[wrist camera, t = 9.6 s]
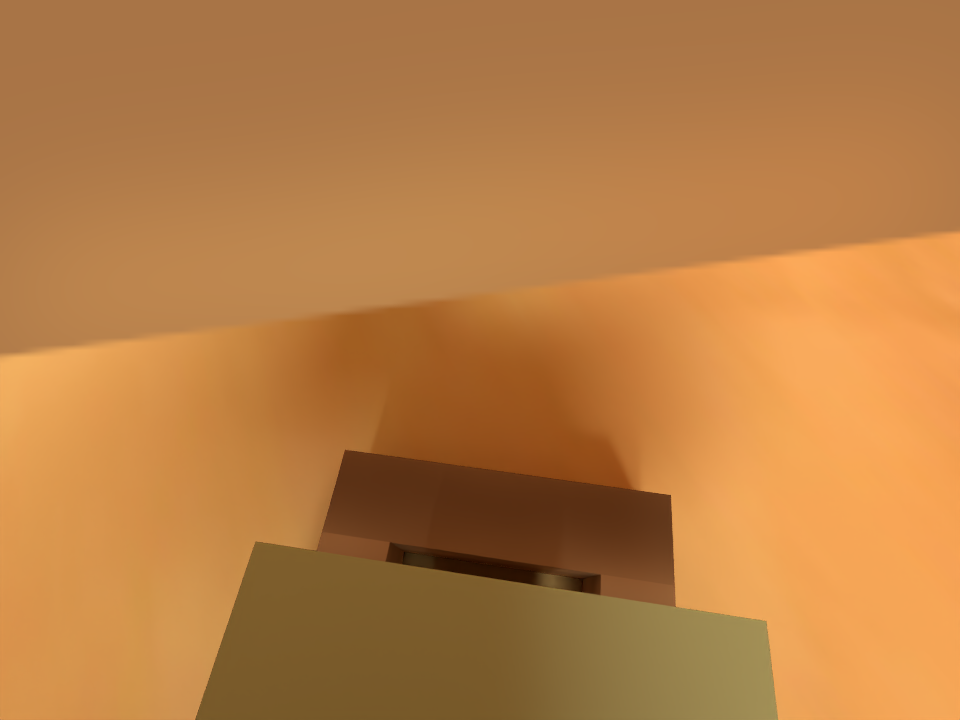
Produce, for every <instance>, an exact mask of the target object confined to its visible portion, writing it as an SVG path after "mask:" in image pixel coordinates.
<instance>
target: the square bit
mask: <svg viewBox="0 0 960 720" xmlns="http://www.w3.org/2000/svg"><path fill="white" fill-rule="evenodd" d="M195 720H778V715H777V706H776V698H775V690H774V681H773V673H772V664H771V656H770V648H769V639H768V631H767V622H766V621H762V620H756V619H749V618H743V617H736V616H730V615H724V614H717V613H711V612H704V611H698V610H692V609H685V608H679V607H672V606H666V605H659V604H653V603H647V602H640V601H634V600H627V599H621V598H615V597H608V596H602V595H595V594H589V593H583V592H576V591H570V590H563V589H557V588H551V587H544V586H538V585H531V584H525V583H518V582H512V581H506V580H499V579H493V578H486V577H480V576H474V575H467V574H461V573H454V572H448V571H442V570H435V569H429V568H422V567H416V566H409V565H403V564H397V563H390V562H384V561H377V560H371V559H365V558H358V557H352V556H345V555H339V554H333V553H326V552H320V551H313V550H307V549H301V548H294V547H288V546H281V545H275V544H268V543H262V542H255V545H254V548H253V551H252V554H251V557H250V560H249V563H248V565H247V568H246V571H245V574H244V577H243V580H242V583H241V586H240V589H239V592H238V595H237V598H236V601H235V604H234V607H233V610H232V613H231V616H230V619H229V622H228V625H227V628H226V630H225V633H224V636H223V639H222V642H221V645H220V648H219V651H218V654H217V657H216V660H215V663H214V666H213V669H212V672H211V675H210V678H209V681H208V684H207V687H206V690H205V693H204V695H203V698H202V701H201V704H200V707H199V710H198V713H197V716H196V719H195Z"/></svg>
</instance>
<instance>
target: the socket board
mask: <svg viewBox="0 0 960 720" xmlns="http://www.w3.org/2000/svg"><path fill="white" fill-rule="evenodd" d="M317 551H320V552H326V553H333V554H339V555H345V556H352V557H358V558H365V559H371V560H377V561H384V562H390V563H397V564H402V560H403V555H404V552H410V553H416V554H423V555H429V556H436V557H442V558H449V559H455V560H462V561H468V562H475V563H481V564H488V565H494V566H501V567H507V568H514V569H520V570H527V571H534V572H540V573H547V574H553V575H560V576H566V577H573V578H579V579H583V589H582V592H583V593H589V594H595V595H602V596H608V597H615V598H621V599H627V600H634V601H640V602H647V603H653V604H659V605H666V606H672V607H676V606H675V582H674V559H673V535H672V511H671V495H666V494H658V493H651V492H644V491H637V490H630V489H623V488H615V487H608V486H601V485H594V484H587V483H579V482H572V481H565V480H558V479H551V478H543V477H536V476H529V475H522V474H515V473H508V472H500V471H493V470H486V469H479V468H472V467H464V466H457V465H450V464H443V463H436V462H428V461H421V460H414V459H407V458H400V457H393V456H385V455H378V454H371V453H364V452H357V451H349V450H345V452H344V456H343V460H342V463H341V467H340V470H339V474H338V477H337V481H336V485H335V488H334V492H333V495H332V499H331V502H330V506H329V510H328V513H327V517H326V520H325V524H324V527H323V531H322V535H321V538H320V542H319V545H318V549H317Z"/></svg>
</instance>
